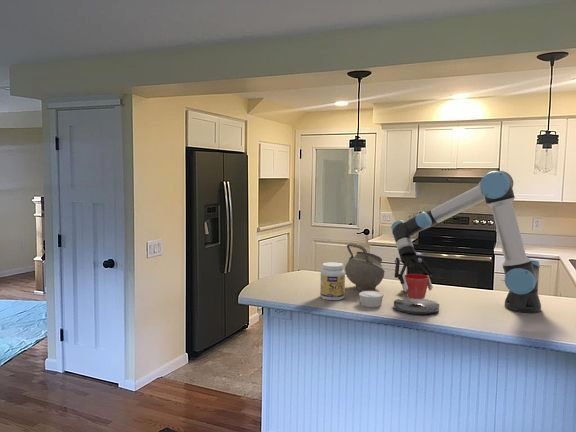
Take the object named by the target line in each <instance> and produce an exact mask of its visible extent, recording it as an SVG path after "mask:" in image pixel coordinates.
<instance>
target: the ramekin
mask: <svg viewBox="0 0 576 432" xmlns="http://www.w3.org/2000/svg"><path fill="white" fill-rule="evenodd" d="M358 297H359V300H360V304H361V306H363V307H367V308H379V307H380V306H381V305H382V302H383V299H384V293H383V292H380V291H376V290H373V291H363V290H362V291H361V292H359V293H358Z"/></svg>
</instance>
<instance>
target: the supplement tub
mask: <svg viewBox="0 0 576 432" xmlns="http://www.w3.org/2000/svg"><path fill="white" fill-rule="evenodd" d="M321 268H322V269H321V270H320V287H319V288H320V291H319V292H320V293H319V295H320V298H322V299H323V300H325V301H326V300H327V301H340V300H342V299H344V298H345V296H346V294H345V293H346V289H345V288H346V287H345V285H346V272H345V267H344V263H341V262H336V261H335V262H333V261H332V262H330V261H329V262H323V263H322V266H321Z"/></svg>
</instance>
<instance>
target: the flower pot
mask: <svg viewBox="0 0 576 432" xmlns="http://www.w3.org/2000/svg"><path fill="white" fill-rule="evenodd" d="M404 276H405V279H406V282H407V286H408V290H407V292H406V295H407V298H408V297H409V298H412V299H426V298H425V297H426V293H427V289H428V281H429V277H428V276H426V275H423V274H422V273H421V274H420V273H407V274H405V275H404Z"/></svg>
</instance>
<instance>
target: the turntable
mask: <svg viewBox="0 0 576 432" xmlns="http://www.w3.org/2000/svg"><path fill="white" fill-rule="evenodd" d="M393 308H394V309H396V310H398V311H400V312H403V313H408V314H411V313H412V314H413V315H431V314H436V313H439V311H440V304H439V303H438V302H436V301H434V300H432V299H428V298H423V299H412V298H409V297H408V296H407V297H401V298H397V299H395V300H393Z"/></svg>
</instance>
